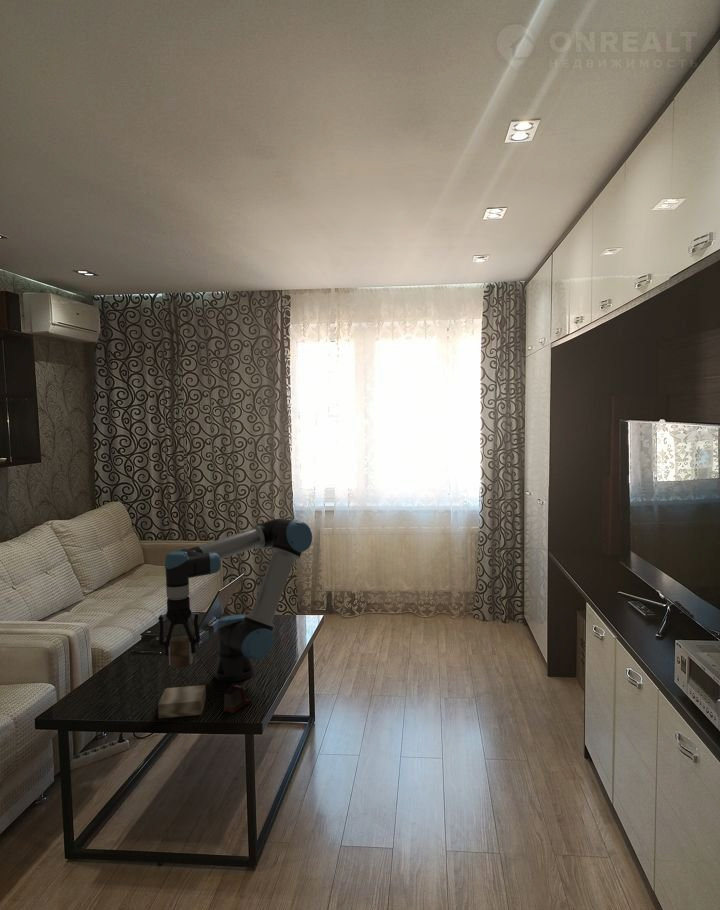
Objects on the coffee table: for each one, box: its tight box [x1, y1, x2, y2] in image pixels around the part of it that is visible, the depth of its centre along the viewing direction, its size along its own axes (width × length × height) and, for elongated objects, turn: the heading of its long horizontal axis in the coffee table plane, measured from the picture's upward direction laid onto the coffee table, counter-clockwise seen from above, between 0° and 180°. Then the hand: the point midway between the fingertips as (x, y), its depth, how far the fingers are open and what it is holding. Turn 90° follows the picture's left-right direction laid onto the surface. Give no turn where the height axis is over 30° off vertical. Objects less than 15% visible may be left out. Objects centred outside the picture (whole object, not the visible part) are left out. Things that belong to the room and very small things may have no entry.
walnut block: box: [169, 635, 191, 669], centre depth 222 cm, size 6×6×9 cm
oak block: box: [157, 684, 207, 719], centre depth 222 cm, size 14×14×5 cm
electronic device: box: [223, 684, 252, 714], centre depth 221 cm, size 4×10×8 cm, turn 149°
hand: (180, 663), depth 222 cm, fingers closed on walnut block, 6 cm apart
